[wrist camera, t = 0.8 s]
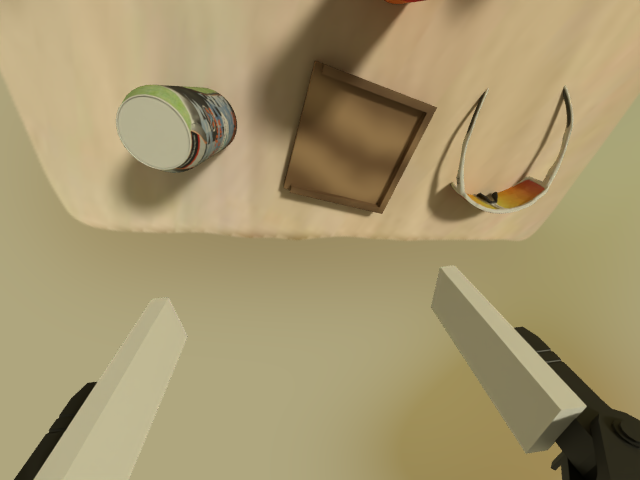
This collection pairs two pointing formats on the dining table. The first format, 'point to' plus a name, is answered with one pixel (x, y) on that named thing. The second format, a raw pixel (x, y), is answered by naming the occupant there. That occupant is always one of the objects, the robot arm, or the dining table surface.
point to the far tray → (353, 140)
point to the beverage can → (175, 125)
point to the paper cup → (401, 1)
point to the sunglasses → (523, 190)
